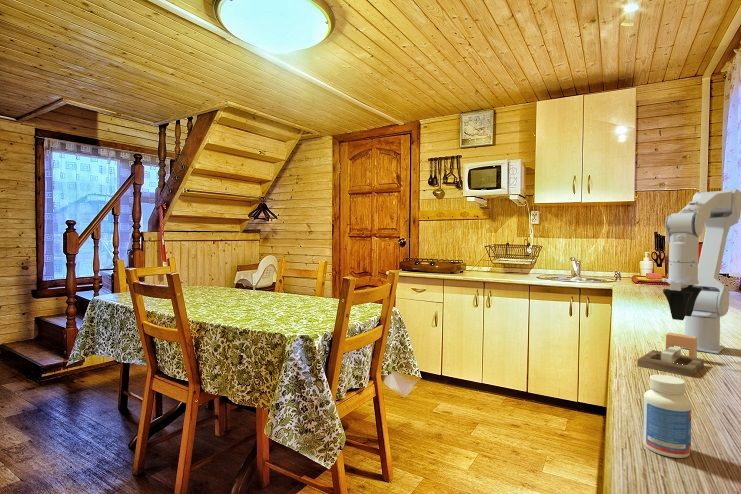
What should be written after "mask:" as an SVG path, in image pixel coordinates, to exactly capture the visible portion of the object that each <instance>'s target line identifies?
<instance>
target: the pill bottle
mask: <svg viewBox="0 0 741 494" xmlns="http://www.w3.org/2000/svg"><path fill="white" fill-rule="evenodd" d="M649 387H650V388H651V389H648V390H647V391H645V392H644V394H643V406H642V407H643V410H642V411H643V413H642V414H643V415H642V416H643V418H642V420H643V421H642V422H643V423H642V424H643V425H642V429H643V430H642V442H643V445H644V446H645V448H647V449H648V450H650V451H651V452H654V453H655V454H659V455H661V456H665V457H669V458H674V459H675V458H676V459H684V458H687V457H689V456H690V455H691V451H692V403H691V402H692V401H691V400H690V399H689V398H688V397H687V396H686V395H684V394H685V392H686V381H685V380H683V379H682V378H679V377H677V376H672V375H667V374H666V375H665V374H652V375H650V376H649Z"/></svg>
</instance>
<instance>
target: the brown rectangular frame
mask: <svg viewBox="0 0 741 494" xmlns="http://www.w3.org/2000/svg"><path fill="white" fill-rule="evenodd" d="M681 350H682V348H680V347H677V346H674V347H669V348H668V349H666V348H665V350H663V351H660V350H655V349H652V350H651V351H649V352H648V353H646V354H644V355H642V356H641V357H639V358H638V359H637V367H640V368H641V367H642V368H646V369H651V370H656V371H662V372H667V373H670V374H676V375H681V376H686V377H690V378H692V377H694V376H695V375H696V374H697V373H699V371H700V370H701V369H702V368H703V367H704V366H705V359H704V358H700V357H697V358H695V357H690V356H689V355H684V354H683V355H682V354H681V353H682V351H681ZM673 362H674V363H673ZM677 363H678V364H677ZM682 364H683V365H682Z"/></svg>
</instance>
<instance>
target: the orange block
mask: <svg viewBox="0 0 741 494" xmlns="http://www.w3.org/2000/svg"><path fill="white" fill-rule="evenodd" d="M669 347H677V348H680V347H684V348H683V349H685V348H689V349H688V356H690V357H695V358H698V350H697V337H696V336H689V335H685V334H682V333H675V332H668V333H666V335H665V350H666V349H668V348H669Z"/></svg>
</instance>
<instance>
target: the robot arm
mask: <svg viewBox="0 0 741 494" xmlns="http://www.w3.org/2000/svg"><path fill="white" fill-rule="evenodd" d="M740 219H741V190H739V189H738V188H737V189H731V190H729V189H728V190H715V191H704V192H701V191H696V192H695V194H694V195H693V196H692V200H691V201H689V202H688V204H686V206H684V207H683V208H682V209H681V210H680V211H678V212H676V213H673V212H672V213H671V214H670V215H668V216H666V219H665V223H664V230H665V233H666V242H667V243H668V277H667V278H662V282H663V283H668V284H669V288H663V289H662V293H663V295H664V296H665V298H666V300H667V303H668V306H669V310H670V315H671V318H672V320H677V321H684V335H689V336H696V337H697V352H699V351H700V352H704V353H711V354H716V355H717V354H720V352H722V351H723V350H724V349H725V346H724V345H721V343H720V342H721V341H720V340H721V318H723V317H724V316H726V315H727V314H728V311H729V307H730V292H729V289H728V287H727V286H726V285H725V284H724V283H722V282H721V281H719V277H720V273H721V267H722V261H723V258H724V254H725V253H724V252H725V249H726V243H727V240H728V239H727V238H728V235H729V232H730V229H731V227H732V226H734V225H737V224H738V223H739V220H740ZM704 228H705V233H704V236H703V237H704V238H703V242H702V246H701V251H700V256H699V238H700V236H702V234H703V230H704ZM679 348H681V349H686V350H689V348H684V347H679Z"/></svg>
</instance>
